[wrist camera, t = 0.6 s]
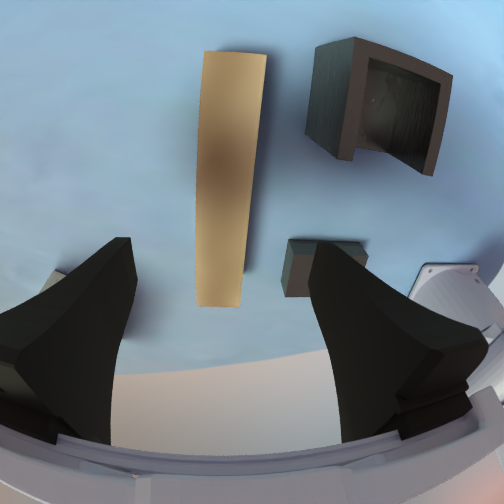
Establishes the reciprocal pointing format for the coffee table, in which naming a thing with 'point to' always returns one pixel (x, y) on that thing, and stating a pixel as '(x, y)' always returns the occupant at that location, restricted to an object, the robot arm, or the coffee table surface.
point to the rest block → (310, 264)
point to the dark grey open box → (377, 103)
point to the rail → (225, 171)
